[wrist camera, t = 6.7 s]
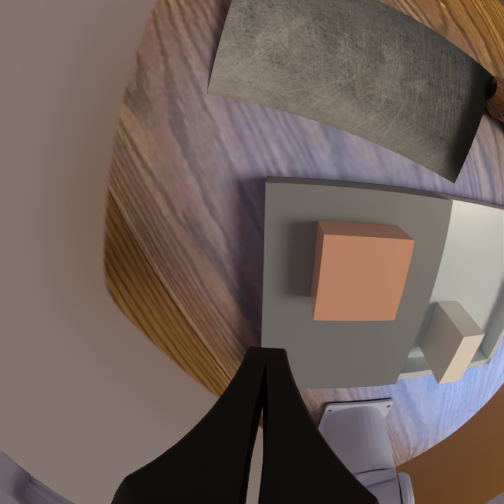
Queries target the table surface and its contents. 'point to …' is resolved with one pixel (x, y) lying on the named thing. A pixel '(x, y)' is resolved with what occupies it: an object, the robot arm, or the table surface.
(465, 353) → the tile white
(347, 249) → the tile terracotta
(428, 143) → the meat cleaver
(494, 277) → the tray
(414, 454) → the table surface
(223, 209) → the table surface
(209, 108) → the table surface
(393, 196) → the board
